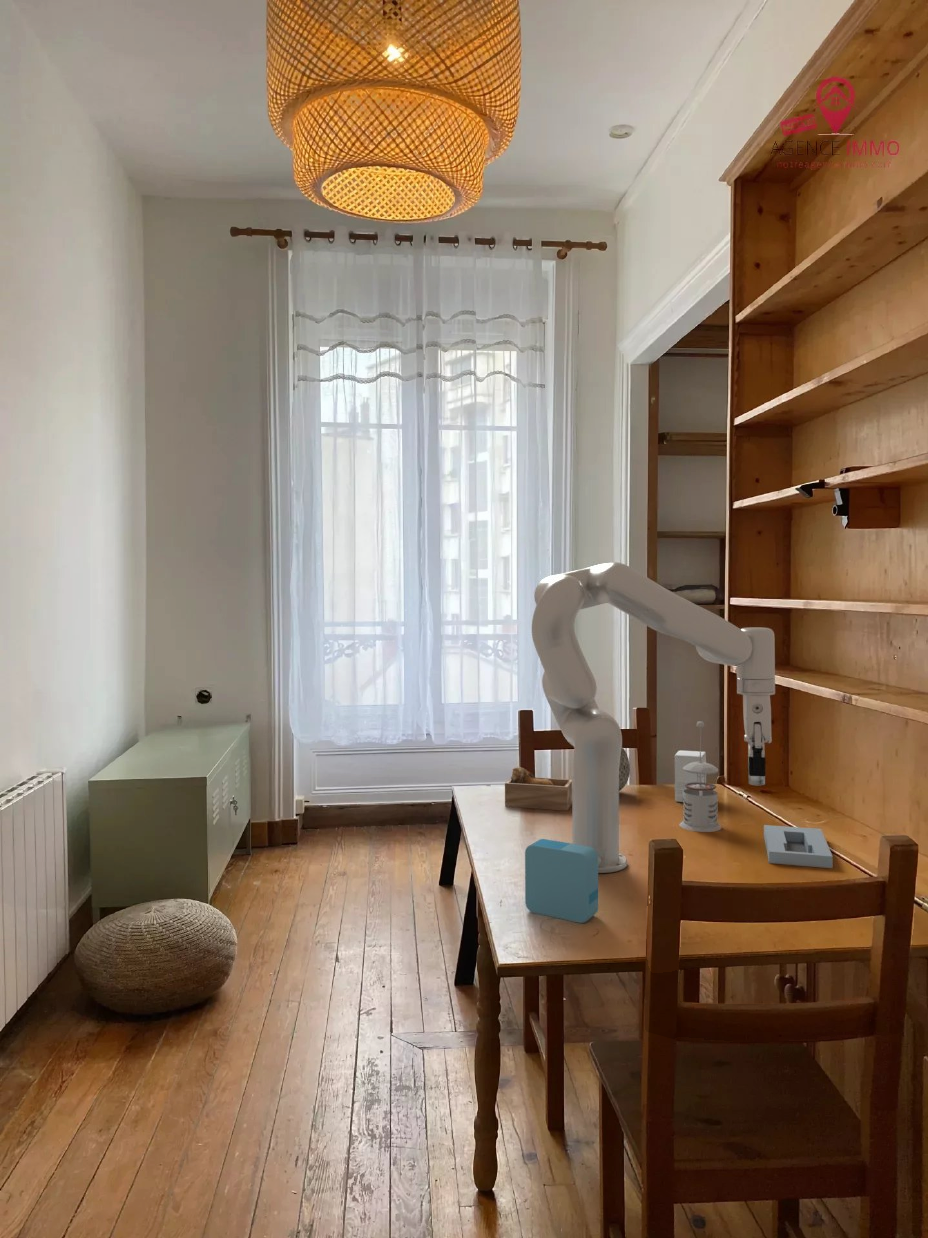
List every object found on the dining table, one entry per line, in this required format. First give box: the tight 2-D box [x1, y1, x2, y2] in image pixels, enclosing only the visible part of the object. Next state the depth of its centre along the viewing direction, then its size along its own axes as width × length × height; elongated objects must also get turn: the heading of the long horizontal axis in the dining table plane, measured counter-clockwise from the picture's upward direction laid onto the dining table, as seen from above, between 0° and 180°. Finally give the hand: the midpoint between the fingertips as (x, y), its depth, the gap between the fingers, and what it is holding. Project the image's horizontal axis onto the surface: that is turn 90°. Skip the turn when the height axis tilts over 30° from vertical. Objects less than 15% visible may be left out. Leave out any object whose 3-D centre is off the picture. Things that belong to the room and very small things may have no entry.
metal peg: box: [743, 734, 768, 786], centre depth 174 cm, size 5×5×10 cm
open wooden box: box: [504, 776, 572, 811], centre depth 219 cm, size 9×16×6 cm, turn 73°
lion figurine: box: [510, 766, 553, 786], centre depth 219 cm, size 15×5×9 cm, turn 62°
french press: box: [678, 720, 723, 833], centre depth 198 cm, size 10×12×25 cm
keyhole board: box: [763, 824, 834, 869], centre depth 178 cm, size 20×12×2 cm, turn 163°
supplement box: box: [674, 750, 707, 803], centre depth 222 cm, size 7×7×13 cm
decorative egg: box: [619, 746, 631, 792], centre depth 229 cm, size 12×12×15 cm
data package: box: [524, 838, 599, 924], centre depth 144 cm, size 12×4×12 cm, turn 58°
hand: (756, 773), depth 174 cm, fingers closed on metal peg, 3 cm apart
